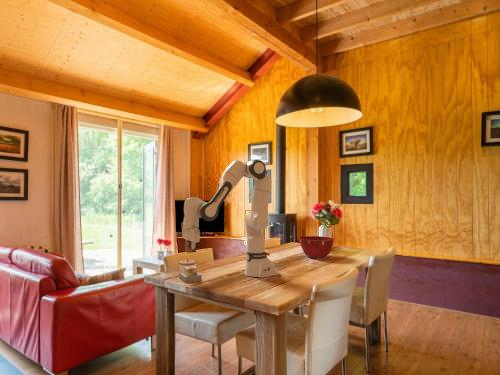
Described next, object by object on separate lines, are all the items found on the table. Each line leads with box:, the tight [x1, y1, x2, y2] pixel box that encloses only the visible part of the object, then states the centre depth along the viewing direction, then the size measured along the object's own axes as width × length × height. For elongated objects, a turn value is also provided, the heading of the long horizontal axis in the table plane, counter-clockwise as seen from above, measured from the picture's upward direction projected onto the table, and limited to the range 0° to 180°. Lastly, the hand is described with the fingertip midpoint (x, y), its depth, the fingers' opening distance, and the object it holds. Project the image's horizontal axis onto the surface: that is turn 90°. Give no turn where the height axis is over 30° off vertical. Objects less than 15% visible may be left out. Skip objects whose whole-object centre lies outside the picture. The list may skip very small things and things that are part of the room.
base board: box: [178, 272, 203, 283], centre depth 189 cm, size 10×10×3 cm
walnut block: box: [184, 240, 197, 254], centre depth 189 cm, size 5×5×6 cm
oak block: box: [184, 266, 198, 276], centre depth 189 cm, size 6×6×4 cm
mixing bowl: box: [298, 235, 335, 259], centre depth 261 cm, size 28×28×16 cm
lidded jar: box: [178, 258, 197, 273], centre depth 201 cm, size 11×11×9 cm
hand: (190, 248), depth 189 cm, fingers closed on walnut block, 5 cm apart
